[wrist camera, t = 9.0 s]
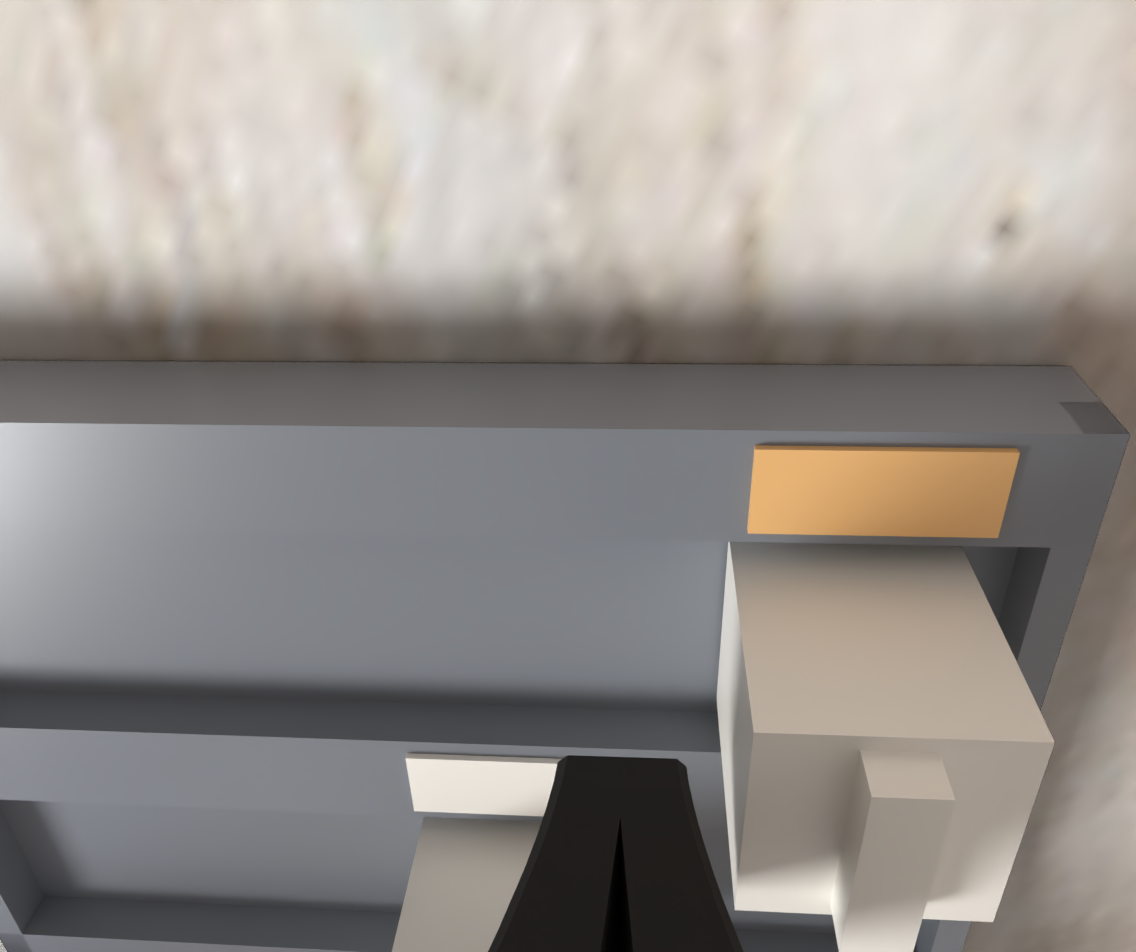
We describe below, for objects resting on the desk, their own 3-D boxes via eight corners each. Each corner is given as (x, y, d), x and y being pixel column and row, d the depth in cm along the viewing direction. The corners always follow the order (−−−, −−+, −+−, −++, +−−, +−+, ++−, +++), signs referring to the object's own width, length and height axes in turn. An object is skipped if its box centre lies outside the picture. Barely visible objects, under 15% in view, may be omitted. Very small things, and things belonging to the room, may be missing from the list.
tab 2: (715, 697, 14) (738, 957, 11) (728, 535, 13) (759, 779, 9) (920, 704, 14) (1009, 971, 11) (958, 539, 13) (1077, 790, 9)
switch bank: (139, 1038, 23) (102, 1125, 22) (-193, 359, 14) (-305, 422, 12) (872, 1081, 22) (891, 1177, 20) (1069, 366, 12) (1133, 438, 11)
